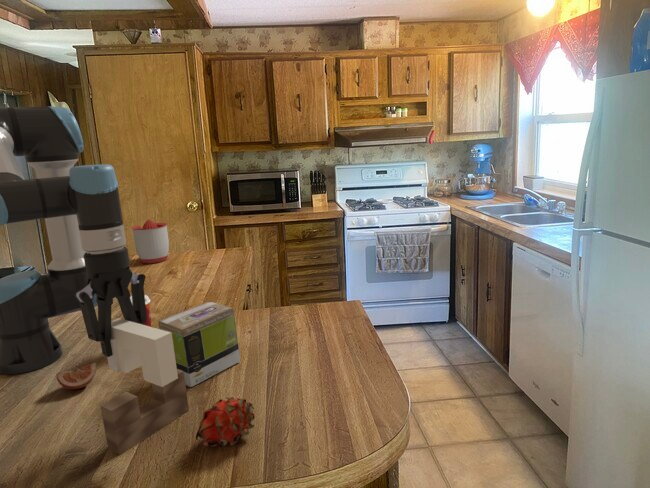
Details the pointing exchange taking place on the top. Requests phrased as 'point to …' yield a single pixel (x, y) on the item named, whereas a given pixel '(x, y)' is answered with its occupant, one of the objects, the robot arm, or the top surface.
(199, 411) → the top surface
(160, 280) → the top surface
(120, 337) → the cream slotted plate
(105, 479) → the top surface
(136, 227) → the citrus juicer
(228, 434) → the dragon fruit
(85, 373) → the fruit slice
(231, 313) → the tea box
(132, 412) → the walnut slotted plate
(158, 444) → the top surface
